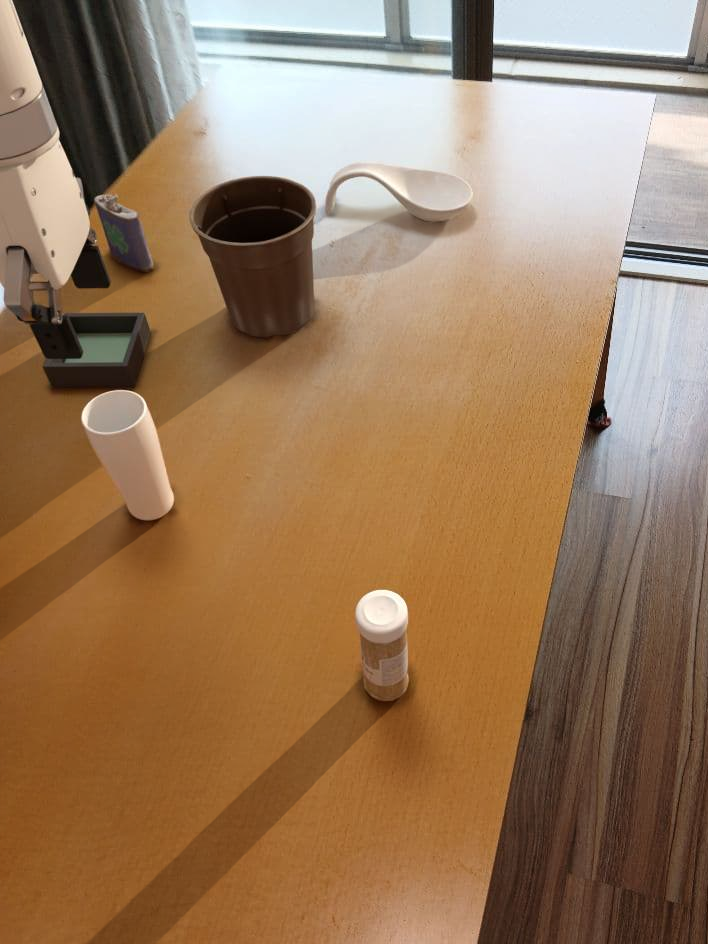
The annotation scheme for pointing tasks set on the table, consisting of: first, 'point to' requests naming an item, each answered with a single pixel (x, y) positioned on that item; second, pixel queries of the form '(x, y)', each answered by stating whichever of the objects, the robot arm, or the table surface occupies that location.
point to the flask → (124, 233)
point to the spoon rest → (411, 189)
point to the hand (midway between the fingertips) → (80, 320)
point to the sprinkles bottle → (383, 644)
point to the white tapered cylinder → (129, 451)
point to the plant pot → (260, 251)
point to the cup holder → (103, 351)
